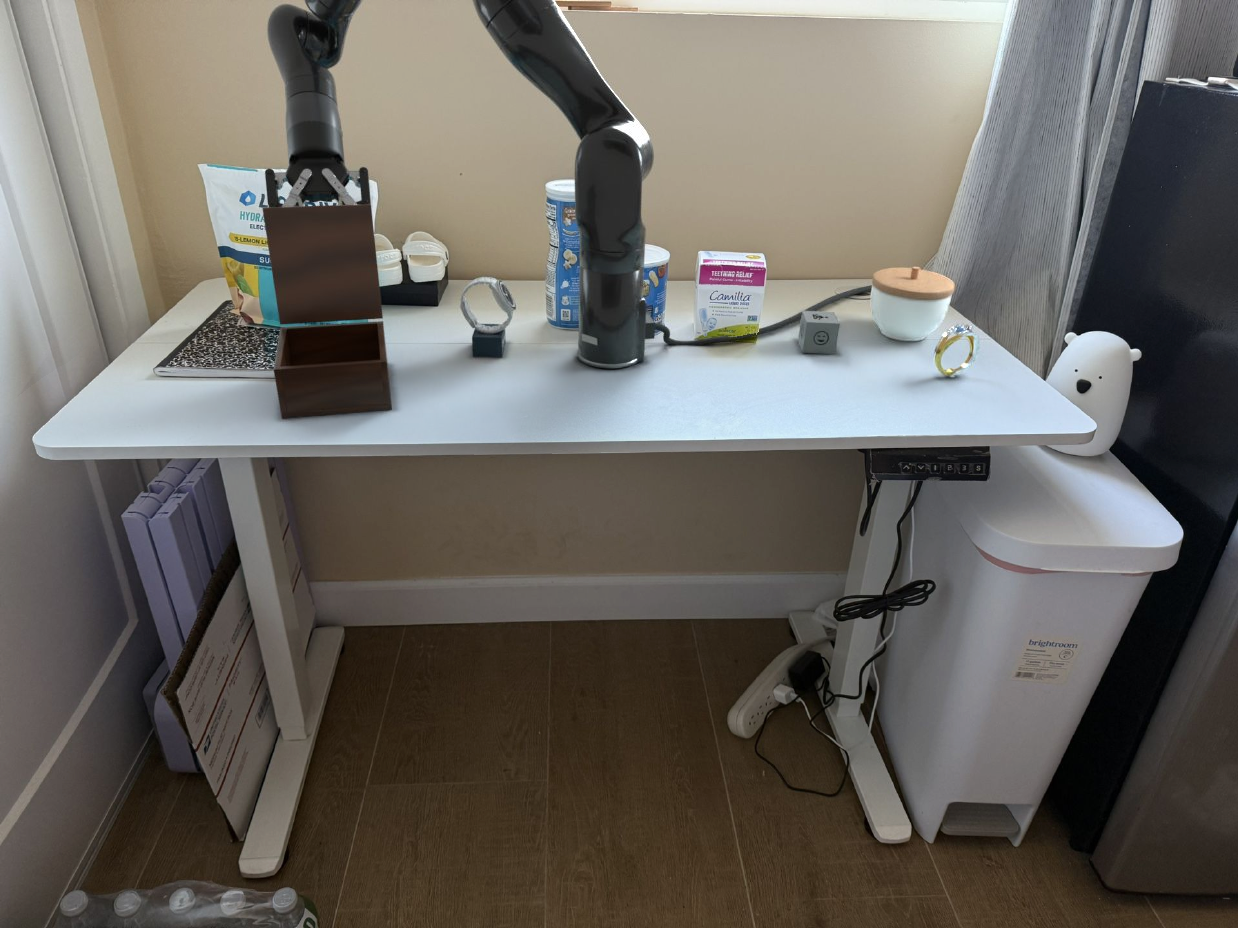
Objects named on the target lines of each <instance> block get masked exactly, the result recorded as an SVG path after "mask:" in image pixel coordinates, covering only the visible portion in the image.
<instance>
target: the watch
mask: <svg viewBox="0 0 1238 928" xmlns="http://www.w3.org/2000/svg"><path fill="white" fill-rule="evenodd" d="M478 285H488V288H489V289H490V290H491V293H492V295H493V298H494V300H495V301H496V303H497V305H498V307H500V308H499V309H501V310H502V311H503V312H504V313H506V314H507V319H506V320H504V322H502V323H480V322H479V321H478V318H477V317H476V315H474V313H473V311H472V310H471V308H470V306H469V303H468V302H467V297H466V294H467V292H468V291H469V289H471V288H473V287H474V286H478ZM459 308H460V310H461V313H462V315H463V317H464V319H465V320H466V322H467V323H468V325H469V326H470V327H471V328H472V329H473V333H472V336H471V347H472V348H471V349H472V357H473V358H503V356H504V351H505V348H506V345H507V343H506V340H507V339H506V329H507V327H508V326H509V325H510V324H511V322H512V319H513V315H514V311H516V309H517V305H516V301H515V298H514V297H513V294H512V293H511V290H510V289H509V288H508V286H507V284H506V283H505V282H503V280H502V279H496V278H495V277H491V276H480V277H477V278H475V279H472V280H470V281H469V283H467V284H466V285H465V287H464V289H463V291H462V293H461V297H460V305H459Z"/></svg>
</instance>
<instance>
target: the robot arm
mask: <svg viewBox="0 0 1238 928" xmlns="http://www.w3.org/2000/svg"><path fill="white" fill-rule="evenodd" d="M363 1H364V0H304V3H305V5H306V7H307V9H308V10H307V9H304V8H301V7H299V6H297V5H293V4H290V3H282V4H279V5H277V6H276V7H275V8H274V9H272V11H271V12H270V14H269V17H268V20H267V24H266V25H267V27H266V32H267V33H266V34H267V41H268V45H269V47H270V51H271V54H272V56H273V58H274V61H275V63H276V66H277V68H278V71H279V74H280V76H281V78H282V81H283V83H284V93H285V94H284V96H285V131H286V132H285V133H286V145H287V157H288V158H287V159H288V167H287V169H286V171H284V172H283V171H281V172H278V171H277V172H275V171H274V169H273V168H267V169H265V170H264V177H265V178H264V179H265V188H266V199H267V207H292V206H305V204H306V203H307V202H308V203H310V204H311V203H318V202H324V203H333V201H335V202H336V203H337V205H359V204H371V205H372V201H371V188H370V176H369V175H370V174H369V170H368V168H367V167H365V166H361V167H359V169H358V170H349V169H348V168H347V167H346V161H345V150H344V141H343V136H344V135H343V129H342V121H341V120H342V119H341V116H340V113H339V106H338V97H337V96H338V95H337V87H336V80H335V77H334V75H333V73H332V72H331V71H330V70H329V69H332V68H334V67H336V66H337V65H338V64H339V63H340V61H341V59H342V57H343V54H344V48H345V43H346V38H347V34H348V32H349V31H348V30H349V28H350V24H351V22H352V19H353V17H354V15H355V13H356V11H357V10H358V9H359V7H360V5H362V3H363ZM472 3H473V6H474V9H475V12H476V14H477V17H478V19H479V21H480V22H481V24H482V25H483V27H484V29H485V30H486V32H487V33H488V35H489V36H490V37H491V39H492V40H493V42H494V43H495V45H496V46H497V47H498V49H499V50H500V51H501V53H502V54H503V56H504V57H505V58H506V59H507V60H508V62H509V63H510V64H511V66H512V67H513V68H514V69H516V71H517V72H519V73H520V75H521V76H522V77H524V78H525V79H526V80H527V81H528V82H529V83H530V84H532V86H534V87H535V88H536V89H538V91H540V92H541V93H542V94H543V95H544V96H546V97H547V98H548V99H549V100H550V101H551V102H552V103H553V104H554V105H555V106H556V107H557V108H558V109H559V111H561V113H562V115H564V117H565V118H566V119H567V121H568V122H569V124H570V126H571V127H572V129H573V130H574V132H575V133H576V135H577V136H578V138H579V140H580V142H579V144H578V146H577V149H576V154H575V159H574V213H575V222H576V225H577V228H578V234H579V261H578V262H579V271H578V272H579V274H578V275H579V277H578V288H579V289H578V342H577V347H578V348H577V358H578V359H579V360H580V362H582V363H583V364H586V365H588V366H590V367H595V368H600V369H621V368H622V369H623V368H627V367H630V366H633V365H635V364H639V363H644V362H645V347H646V346H645V345H646V340H652V339H655V337H656V336H655V334H656V331H659V332H662V333H663V334H662V335H663V336H662V337H663V342H664V343H665V344H667V345H669V346H695V347H696V346H699V347H700V346H709V345H715V344H721V343H730V342H735V341H742V340H746V339H750V338H754V337H757V336H761V335H765V334H768V333H771V332H774V331H777V330H779V329H782V328H785V327H787V326H789V325H791V324H793V323H796V322H798V321H799V320H800V321H801V316H802V311H800V312H799V313H797V314H794V315H793V316H790V317H788V318H785V319H783V320H780V321H778V322H776V323H773V324H770V325H767V326H763V327H760V328H758V329H759V332H758V333H757V335H756V333H754V334H747V335H743V336H737V337H731V338H730V337H728V335H721V336H720V337H719V336H714V337H706V338H700V339H695V340H677V339H673V338H671V331H670V329H669V328H668V327H667V326H666V325H664V324H661V323H658V322H655V320H654V319H653V318H652V316H651V315H650V314H649V313H648V311H647V305H648V303H647V299H646V298H645V296H644V278H645V277H644V275H645V253H646V238H647V237H646V235H647V234H646V233H647V228H646V225H645V223H644V222H643V217H642V196H643V195H642V193H643V182H644V181H645V180H646V179H647V178H648V176H649V174H650V173H651V171H652V169H653V166H654V160H655V151H654V146H653V143H652V139H651V138H650V135H649V134H648V133H647V130H646V129H645V128H644V127H643V126H642V124H641V123H640V122H639V120H638V119H637V118H636V117H635V116H634V115H633V114H632V112H631V111H630V110H629V109H628V107H626V105H625V104H624V102H622V100H621V99H620V98H619V97H618V95H617V94H616V93H615V92H614V91H613V89H612V88H611V87H610V86H609V84H608V83H607V82H606V80H605V79H604V77H603V76H602V75H601V73H600V71H599V70H598V68H597V67H596V65H595V63H594V62H593V60H592V58H591V56H590V54H589V53H588V52H587V50H586V48H585V46H584V45H583V43H582V42H581V40H580V39H579V37H578V36H577V34H576V33H575V31H574V29H573V28H572V26H571V25H570V23H569V21H568V20H567V19H566V17H565V16H564V14H563V12H562V10H561V9H560V7H559V5H558V4H557V2H556V1H555V0H472ZM350 181H352V182H353V183H354V186H355V187H357V188H358V189H360V197H361V198H360V200H357V201H355V199H354V198H353V197H352V196H351V195H350V194H349V191H348V189H347V188H346V186H348V185H349V183H350ZM284 183H287V184H288V185H289V186H290V187H291V189H290V190H289V193H288V196H287V198H286V199H285V201H284V202H283V203H281V202H280V199H279V191H280V190H281V189H282V188H283V186H284ZM871 290H872V284H870V285H866V286H861V287H856V288H852V289H849V290H846V291H843V292H840V293H837V294H835V295H832V296H830V297H828V298H825V299H824V300H821V301H819V302H818V303H816V304H813V305H812V306H809V307H808V308H806V309H804V310H803V311H819V310H820V309H823V308H824V307H826V306H828V305H830V304H832V303H835V302H837V301H840V300H842V299H843V300H844V299H845V298H848V297H851V296H854V295H857V294H862V293H867V292H871Z"/></svg>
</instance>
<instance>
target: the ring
mask: <svg viewBox="0 0 1238 928" xmlns="http://www.w3.org/2000/svg"><path fill="white" fill-rule="evenodd" d="M973 329H974V326H973V325H969V324H965V323H961V325H960V323H959V322H956V324H955V325H952V326H951V327H949V328H948V329H946V330H945V332H944V333H943V334H942V335H941V336H940V338H939V340H938V341H937V344H936V346H935V348H934V351H933V356H932V359H933V364H934V367H935V369H936V370H937V371H938V372H939V373H940V374H942V375H943V376H947V377H949V378H955V377H956V376H959V375H960V374H963V373H964V372H966V371H967V370H968V369H969V368H970V367H971V366H972V365H973V364H974V362H975V361H976V359H977V357H978V355H979V351H980V338H979V335H978V334H977V333H975V332H973V331H972V330H973ZM951 335H953V336H951ZM950 336H951V337H950ZM949 337H950V338H949ZM963 337H965V338H966V339H967V340H968V344H969V353H968V356H967V358H966V360H965V361H964V363H962V364H961V365H960V366H959V367H957V368H950V367H949V368H947V369H944V367H943V366H942V358H943V355H944V353H945V352H946V351H947V349H948V348H949V347H951V346H952V345H953V344H955V342H957V341H959V340H960V339H961V338H963ZM948 338H949V339H948Z"/></svg>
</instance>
